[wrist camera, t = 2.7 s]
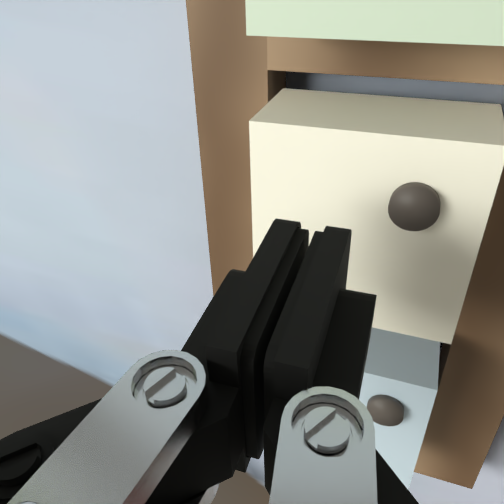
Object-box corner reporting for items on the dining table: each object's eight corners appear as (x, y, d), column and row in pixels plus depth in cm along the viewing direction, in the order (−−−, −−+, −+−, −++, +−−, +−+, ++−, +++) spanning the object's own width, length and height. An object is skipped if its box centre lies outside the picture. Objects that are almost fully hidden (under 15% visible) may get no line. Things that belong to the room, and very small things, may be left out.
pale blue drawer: (440, 326, 17) (437, 397, 15) (413, 428, 21) (406, 501, 18) (281, 293, 19) (252, 351, 16) (280, 393, 22) (256, 453, 20)
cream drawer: (500, 104, 13) (510, 151, 10) (452, 282, 16) (450, 351, 13) (283, 88, 14) (244, 124, 12) (281, 252, 18) (251, 307, 15)
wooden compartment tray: (914, -665, 7) (1042, -828, 6) (471, 450, 23) (471, 488, 21) (184, -452, 11) (137, -514, 9) (238, 386, 26) (224, 415, 25)
